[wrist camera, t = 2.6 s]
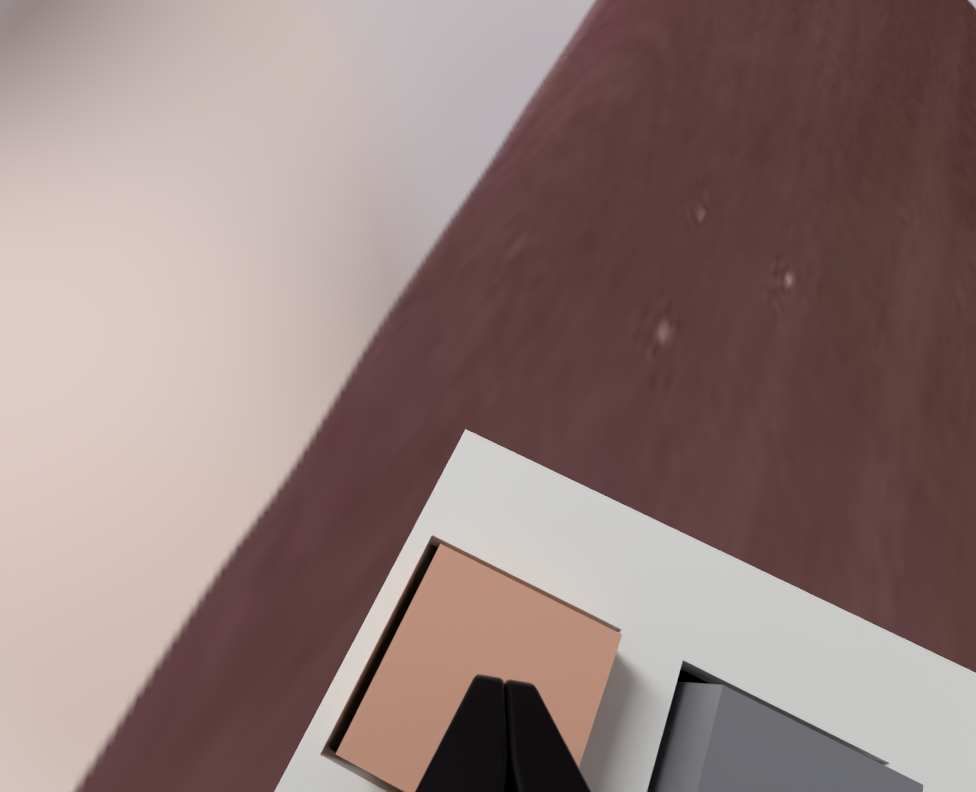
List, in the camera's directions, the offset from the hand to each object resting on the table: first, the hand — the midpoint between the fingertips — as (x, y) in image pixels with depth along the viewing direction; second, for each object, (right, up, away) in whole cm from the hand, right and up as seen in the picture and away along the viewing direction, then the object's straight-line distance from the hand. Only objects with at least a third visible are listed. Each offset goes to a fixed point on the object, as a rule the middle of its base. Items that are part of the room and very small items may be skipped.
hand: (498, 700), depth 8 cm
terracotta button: (0, -2, +4) cm, 4 cm away
